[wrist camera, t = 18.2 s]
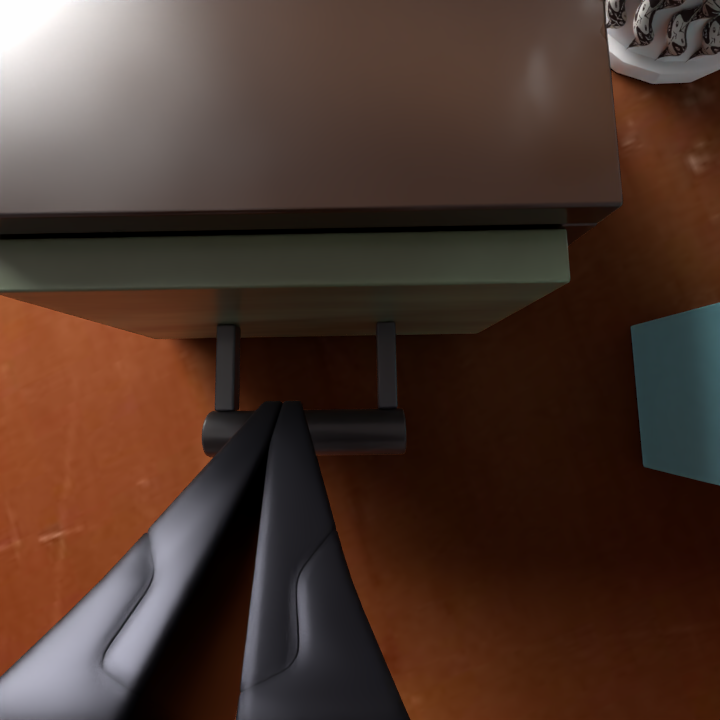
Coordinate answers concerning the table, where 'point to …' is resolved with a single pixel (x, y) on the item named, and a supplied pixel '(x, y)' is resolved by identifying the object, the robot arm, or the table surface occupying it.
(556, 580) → the table surface
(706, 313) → the sponge
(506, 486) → the table surface
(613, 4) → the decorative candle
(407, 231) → the drawer
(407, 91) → the cabinet
